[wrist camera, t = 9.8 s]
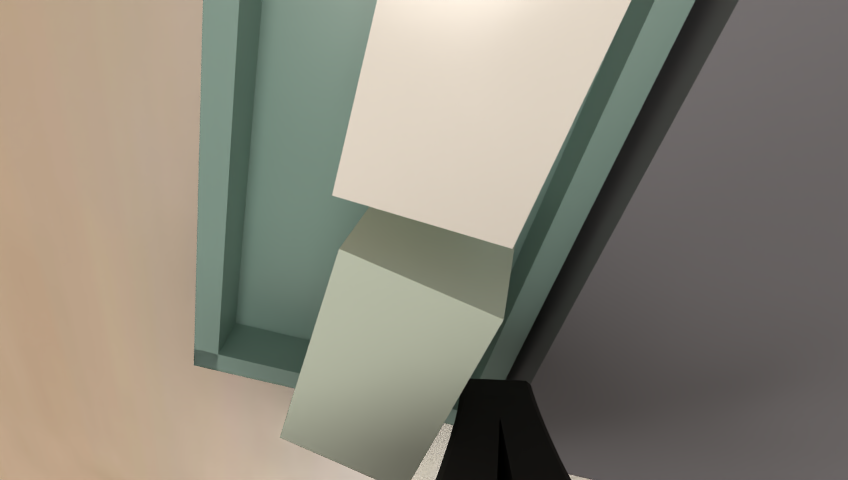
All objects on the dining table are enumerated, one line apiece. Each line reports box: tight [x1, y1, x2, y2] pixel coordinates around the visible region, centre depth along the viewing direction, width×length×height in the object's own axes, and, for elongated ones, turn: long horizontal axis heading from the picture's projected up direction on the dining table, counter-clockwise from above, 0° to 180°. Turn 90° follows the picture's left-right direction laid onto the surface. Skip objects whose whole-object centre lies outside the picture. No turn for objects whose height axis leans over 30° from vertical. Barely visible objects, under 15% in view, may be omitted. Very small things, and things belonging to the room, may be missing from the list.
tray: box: [194, 0, 695, 425], centre depth 11 cm, size 8×14×2 cm, turn 165°
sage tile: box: [280, 207, 515, 480], centre depth 10 cm, size 4×4×2 cm
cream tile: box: [332, 0, 631, 249], centre depth 8 cm, size 4×4×2 cm
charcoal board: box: [505, 0, 848, 480], centre depth 11 cm, size 10×14×2 cm
